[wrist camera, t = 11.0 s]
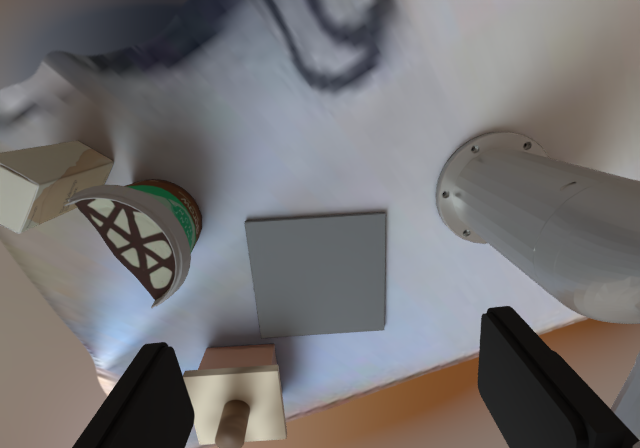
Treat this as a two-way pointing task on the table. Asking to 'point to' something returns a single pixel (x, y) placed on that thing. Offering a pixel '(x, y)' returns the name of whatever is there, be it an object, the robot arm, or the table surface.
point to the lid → (237, 405)
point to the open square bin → (238, 356)
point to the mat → (318, 274)
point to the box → (46, 181)
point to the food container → (146, 230)
